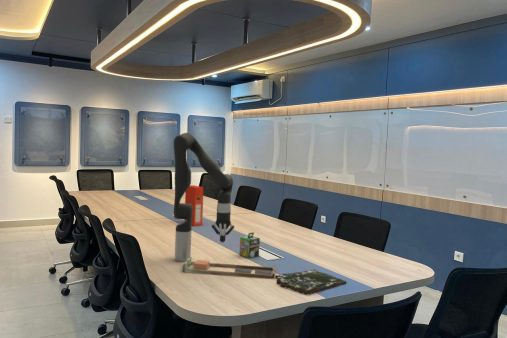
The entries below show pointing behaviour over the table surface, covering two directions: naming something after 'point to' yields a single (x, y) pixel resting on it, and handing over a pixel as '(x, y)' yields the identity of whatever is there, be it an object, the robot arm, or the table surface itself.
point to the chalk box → (249, 246)
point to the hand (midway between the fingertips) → (222, 242)
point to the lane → (239, 271)
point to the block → (201, 265)
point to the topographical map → (308, 281)
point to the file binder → (195, 203)
